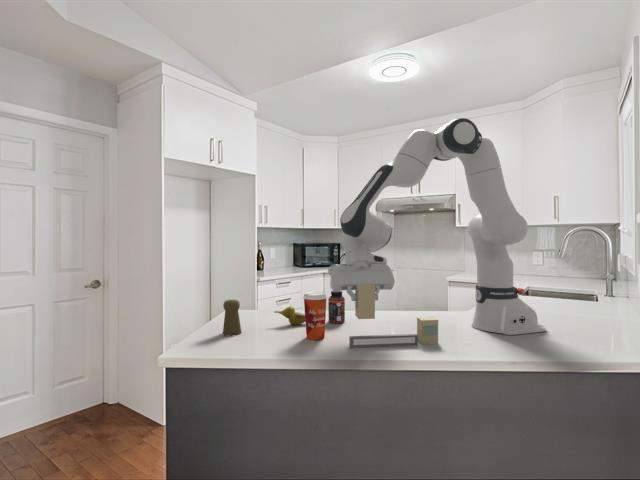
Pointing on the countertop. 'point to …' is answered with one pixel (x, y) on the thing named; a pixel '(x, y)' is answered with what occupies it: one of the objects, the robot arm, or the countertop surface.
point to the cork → (231, 318)
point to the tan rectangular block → (365, 301)
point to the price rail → (383, 340)
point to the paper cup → (315, 314)
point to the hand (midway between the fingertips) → (365, 299)
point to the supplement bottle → (336, 307)
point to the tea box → (427, 330)
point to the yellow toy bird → (292, 316)
